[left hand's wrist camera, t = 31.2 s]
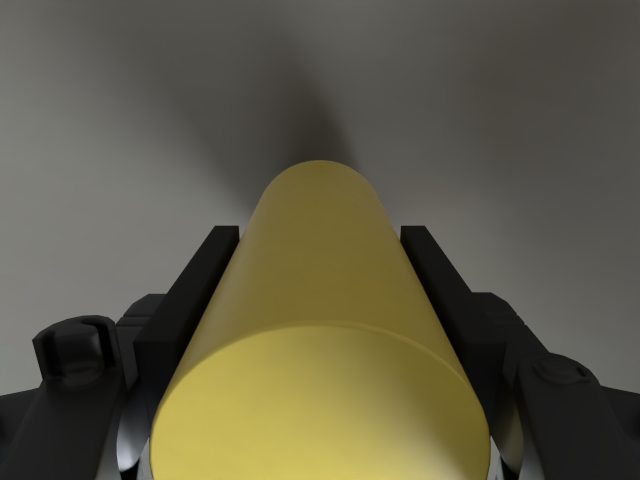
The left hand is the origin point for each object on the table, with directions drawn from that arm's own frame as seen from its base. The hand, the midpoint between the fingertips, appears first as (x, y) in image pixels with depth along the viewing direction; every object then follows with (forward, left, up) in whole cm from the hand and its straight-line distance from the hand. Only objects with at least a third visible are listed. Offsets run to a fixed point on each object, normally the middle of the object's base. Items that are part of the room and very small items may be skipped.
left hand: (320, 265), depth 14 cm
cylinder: (0, 0, -4) cm, 4 cm away
